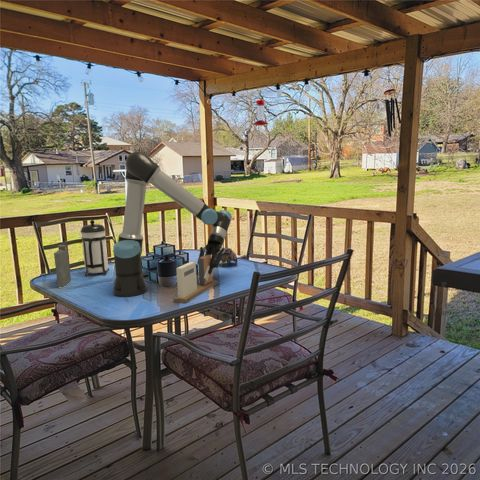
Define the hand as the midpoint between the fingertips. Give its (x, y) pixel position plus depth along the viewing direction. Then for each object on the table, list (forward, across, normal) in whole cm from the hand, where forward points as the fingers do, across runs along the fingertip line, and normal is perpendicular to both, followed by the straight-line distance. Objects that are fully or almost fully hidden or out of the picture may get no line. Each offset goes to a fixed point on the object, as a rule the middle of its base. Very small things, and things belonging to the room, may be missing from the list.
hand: (202, 278), depth 183 cm
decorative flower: (-28, +9, -35) cm, 46 cm away
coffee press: (-1, +70, -8) cm, 70 cm away
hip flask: (+13, +72, +6) cm, 74 cm away
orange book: (0, 0, -4) cm, 4 cm away
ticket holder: (+7, 0, +1) cm, 7 cm away
